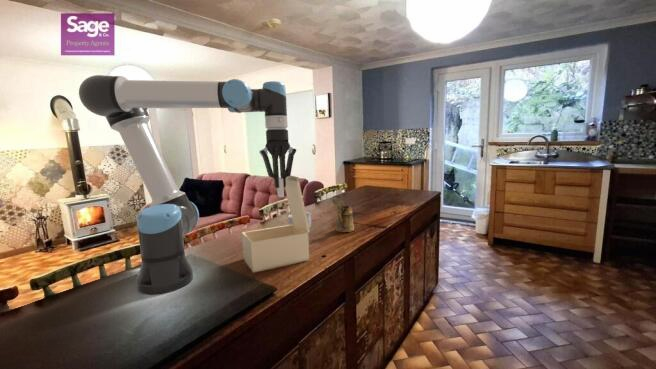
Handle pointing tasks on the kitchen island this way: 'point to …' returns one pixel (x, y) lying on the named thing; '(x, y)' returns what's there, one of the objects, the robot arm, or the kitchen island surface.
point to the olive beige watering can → (343, 215)
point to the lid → (296, 203)
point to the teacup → (307, 219)
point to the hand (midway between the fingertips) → (280, 196)
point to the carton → (275, 247)
